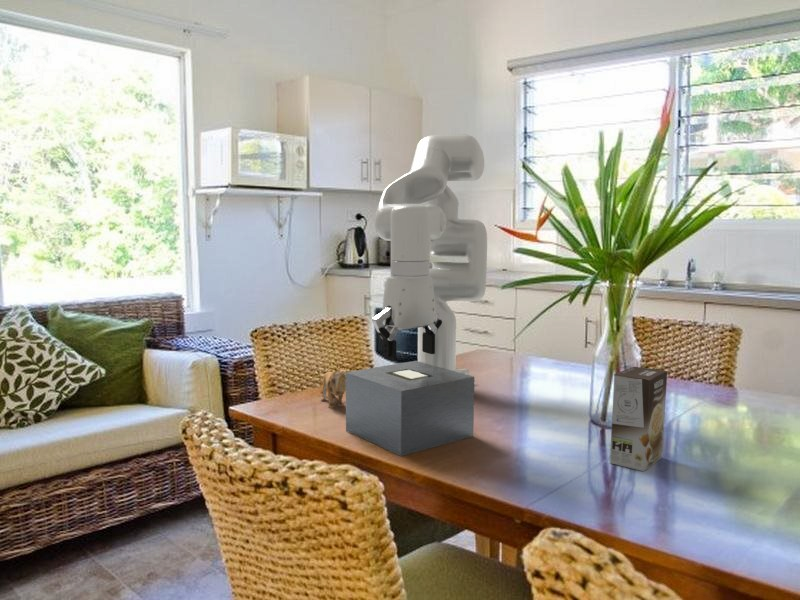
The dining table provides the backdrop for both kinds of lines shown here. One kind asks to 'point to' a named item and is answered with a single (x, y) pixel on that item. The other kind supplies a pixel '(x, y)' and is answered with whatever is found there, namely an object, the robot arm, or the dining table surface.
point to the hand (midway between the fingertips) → (409, 356)
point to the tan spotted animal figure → (334, 386)
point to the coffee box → (638, 417)
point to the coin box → (409, 407)
